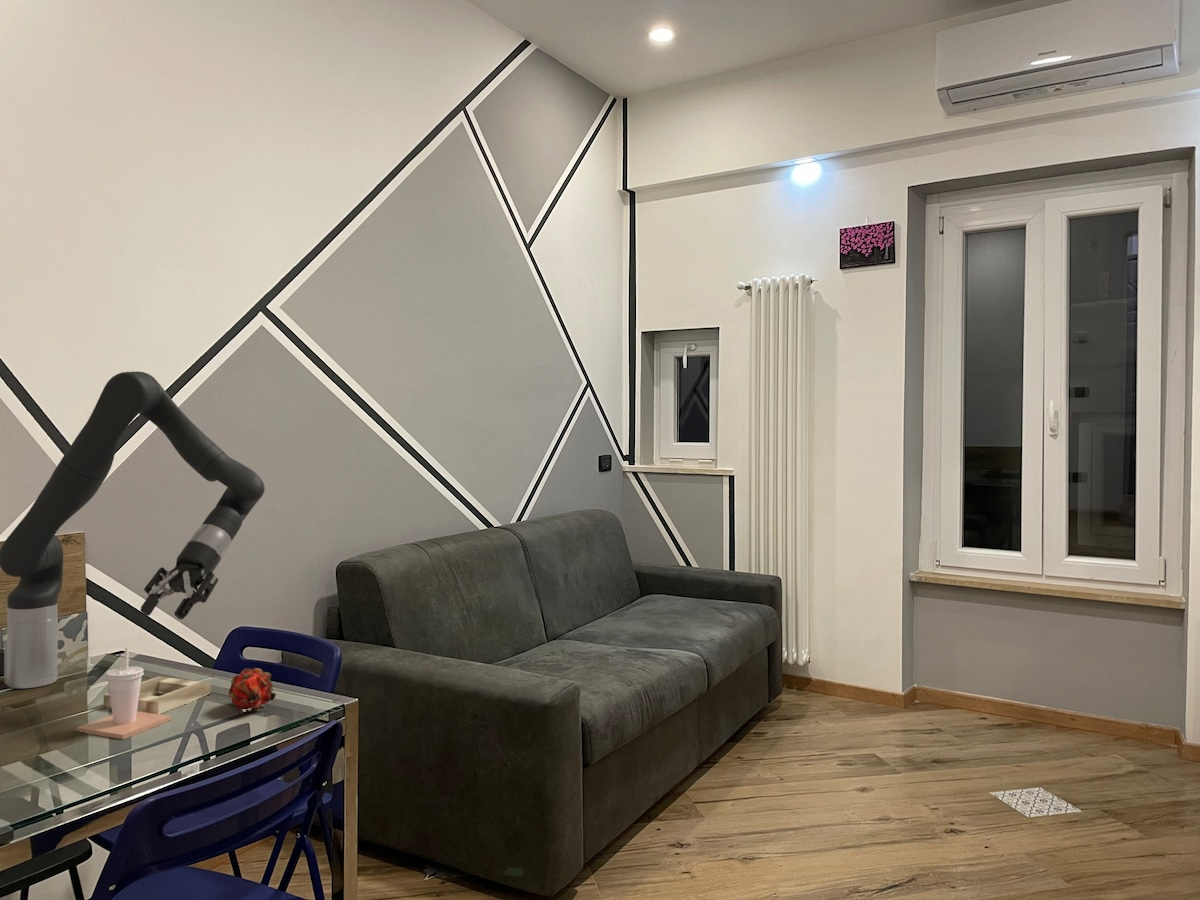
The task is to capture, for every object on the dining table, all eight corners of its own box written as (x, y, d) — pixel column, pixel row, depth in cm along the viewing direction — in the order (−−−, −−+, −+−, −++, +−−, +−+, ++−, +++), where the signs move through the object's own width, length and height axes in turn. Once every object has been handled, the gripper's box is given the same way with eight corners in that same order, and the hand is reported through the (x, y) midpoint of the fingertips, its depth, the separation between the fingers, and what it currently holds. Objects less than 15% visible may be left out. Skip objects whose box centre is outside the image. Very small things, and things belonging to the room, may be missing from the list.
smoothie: (150, 716, 166) (151, 644, 166) (129, 727, 160) (130, 653, 159) (119, 714, 167) (120, 643, 166) (97, 726, 160) (97, 651, 160)
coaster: (77, 731, 159) (77, 727, 159) (126, 713, 170) (126, 709, 170) (123, 739, 156) (123, 734, 156) (170, 720, 166) (170, 716, 166)
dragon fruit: (253, 705, 181) (256, 731, 170) (218, 686, 177) (218, 712, 167) (279, 672, 182) (284, 696, 171) (245, 652, 178) (247, 676, 168)
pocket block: (103, 707, 174) (103, 694, 173) (158, 687, 187) (158, 676, 187) (158, 715, 169) (158, 702, 169) (210, 694, 183) (210, 683, 182)
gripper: (168, 537, 181) (122, 601, 170) (223, 541, 176) (179, 607, 166) (187, 559, 186) (143, 622, 175) (241, 563, 182) (199, 629, 171)
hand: (161, 615), depth 171 cm, fingers open, 8 cm apart
